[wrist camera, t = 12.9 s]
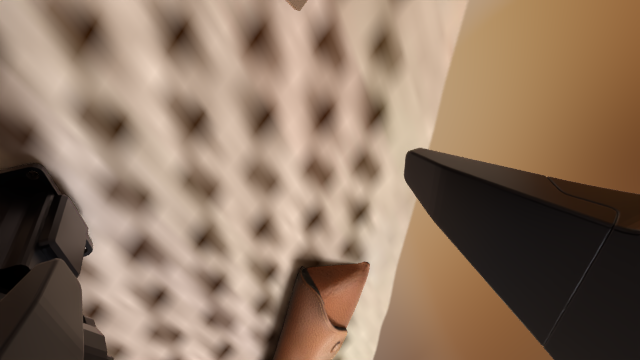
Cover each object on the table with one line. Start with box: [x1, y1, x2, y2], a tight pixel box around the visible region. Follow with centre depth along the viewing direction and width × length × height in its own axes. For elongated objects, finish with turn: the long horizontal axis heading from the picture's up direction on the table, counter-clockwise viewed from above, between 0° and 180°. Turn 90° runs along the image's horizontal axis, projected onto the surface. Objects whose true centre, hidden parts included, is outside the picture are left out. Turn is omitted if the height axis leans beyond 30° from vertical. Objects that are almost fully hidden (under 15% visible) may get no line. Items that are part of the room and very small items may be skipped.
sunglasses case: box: [273, 262, 370, 360], centre depth 35 cm, size 18×7×7 cm
